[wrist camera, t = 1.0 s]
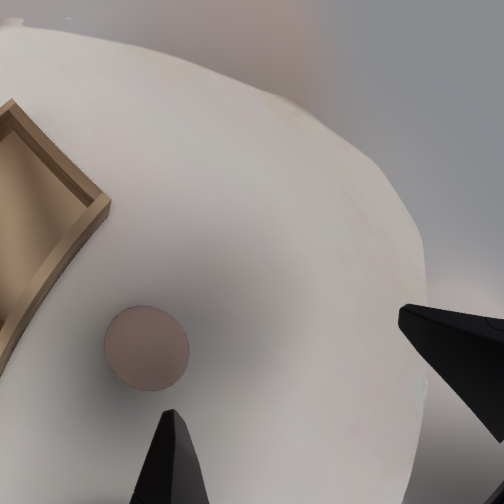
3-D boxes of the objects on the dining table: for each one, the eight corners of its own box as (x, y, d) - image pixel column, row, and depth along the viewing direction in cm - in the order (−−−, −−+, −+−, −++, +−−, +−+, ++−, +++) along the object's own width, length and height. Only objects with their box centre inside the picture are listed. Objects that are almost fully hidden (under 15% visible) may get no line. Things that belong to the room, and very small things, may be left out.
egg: (121, 292, 18) (134, 287, 12) (181, 325, 20) (223, 333, 14) (92, 356, 16) (91, 384, 10) (155, 385, 18) (187, 421, 12)
